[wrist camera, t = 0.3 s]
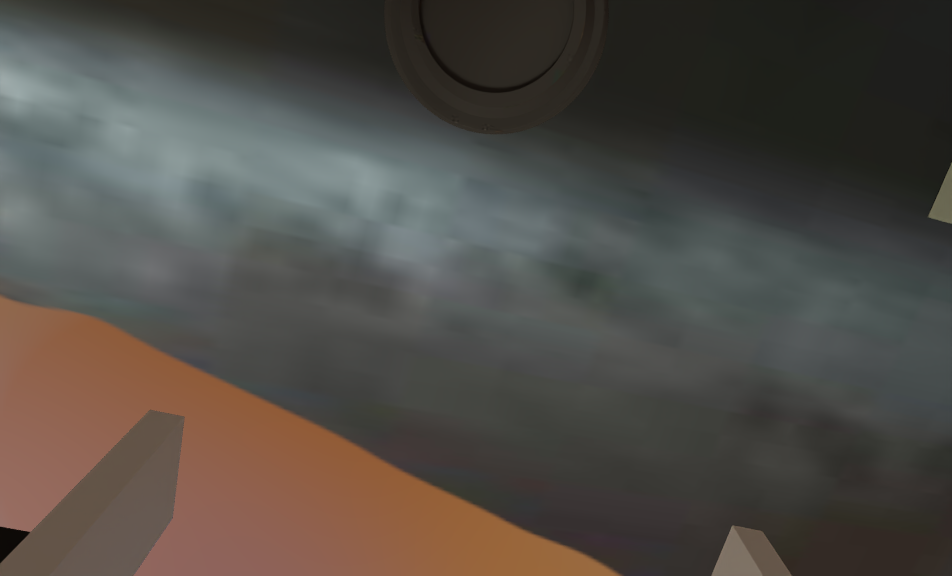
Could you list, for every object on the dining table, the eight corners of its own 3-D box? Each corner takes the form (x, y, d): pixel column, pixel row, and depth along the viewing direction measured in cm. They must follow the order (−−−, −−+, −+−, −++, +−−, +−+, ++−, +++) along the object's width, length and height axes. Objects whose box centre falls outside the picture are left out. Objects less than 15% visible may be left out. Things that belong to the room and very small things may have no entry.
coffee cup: (583, -19, 37) (657, -85, 23) (538, 137, 40) (579, 165, 25) (430, -66, 36) (408, -164, 22) (394, 97, 39) (353, 102, 25)
